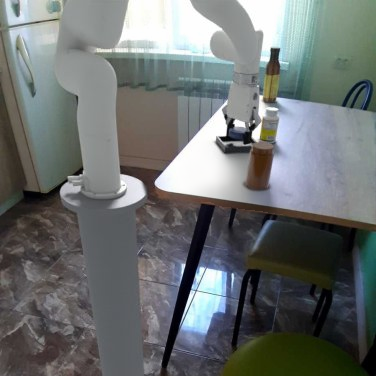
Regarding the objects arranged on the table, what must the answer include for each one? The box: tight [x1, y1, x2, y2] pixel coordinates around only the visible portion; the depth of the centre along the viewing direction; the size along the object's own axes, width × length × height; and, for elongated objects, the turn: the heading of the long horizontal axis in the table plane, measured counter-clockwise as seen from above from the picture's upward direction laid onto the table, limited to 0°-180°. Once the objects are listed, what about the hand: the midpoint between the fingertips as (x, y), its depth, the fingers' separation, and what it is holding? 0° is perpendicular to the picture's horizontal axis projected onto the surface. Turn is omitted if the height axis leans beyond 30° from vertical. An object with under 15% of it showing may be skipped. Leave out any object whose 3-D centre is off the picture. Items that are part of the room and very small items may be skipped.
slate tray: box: [215, 135, 258, 154], centre depth 137 cm, size 12×11×2 cm
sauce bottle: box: [262, 46, 281, 103], centre depth 176 cm, size 6×6×20 cm
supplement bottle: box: [259, 106, 280, 144], centre depth 139 cm, size 6×6×10 cm
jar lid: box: [229, 126, 246, 139], centre depth 134 cm, size 7×7×2 cm
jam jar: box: [245, 141, 275, 191], centre depth 111 cm, size 6×6×11 cm
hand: (238, 140), depth 136 cm, fingers open, 7 cm apart
